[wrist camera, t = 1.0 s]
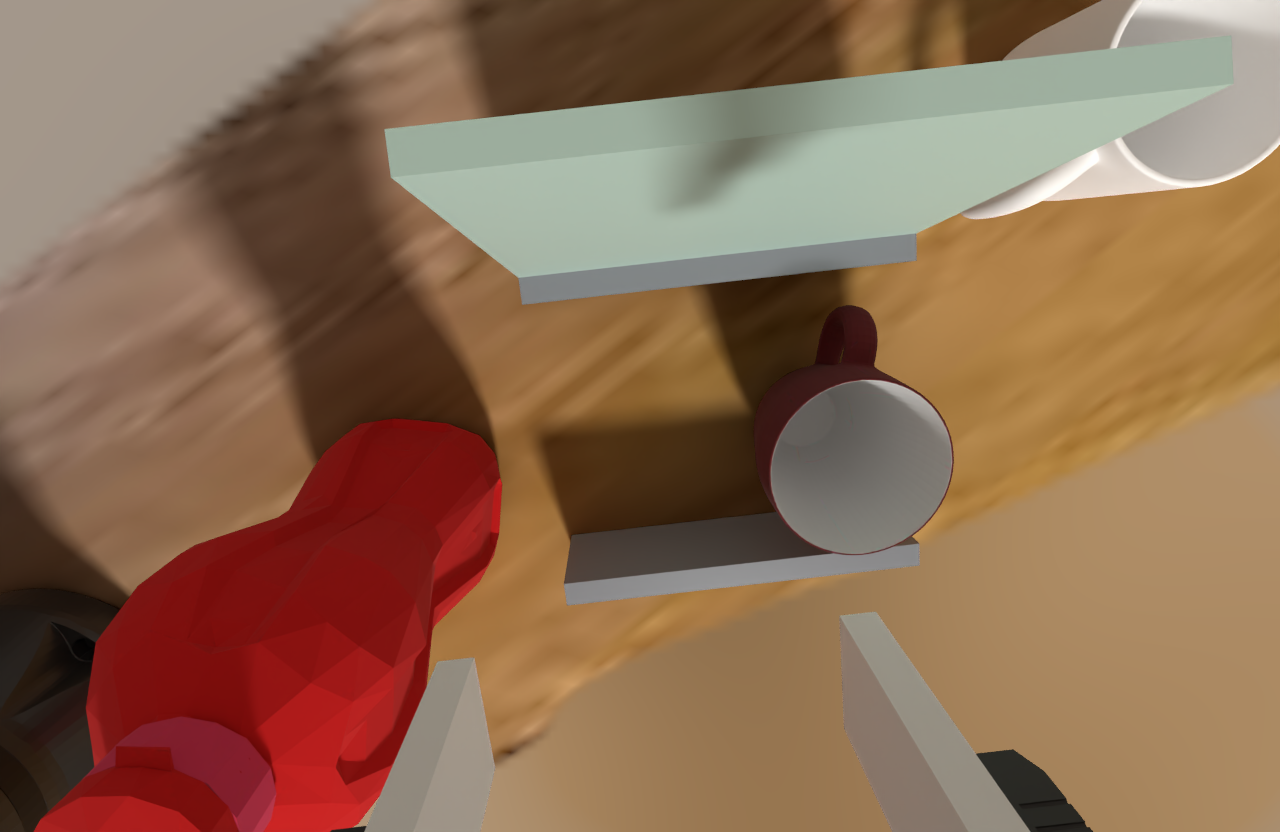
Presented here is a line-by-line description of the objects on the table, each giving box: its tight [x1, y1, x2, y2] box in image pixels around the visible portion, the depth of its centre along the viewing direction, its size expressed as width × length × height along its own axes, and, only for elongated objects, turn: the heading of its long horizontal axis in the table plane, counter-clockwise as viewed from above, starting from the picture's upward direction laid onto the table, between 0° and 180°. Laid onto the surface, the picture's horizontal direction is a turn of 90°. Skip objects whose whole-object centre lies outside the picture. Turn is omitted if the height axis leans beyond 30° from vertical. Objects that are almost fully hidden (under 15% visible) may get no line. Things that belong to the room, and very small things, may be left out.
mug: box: [754, 305, 954, 555], centre depth 34 cm, size 11×8×10 cm
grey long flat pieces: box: [519, 233, 919, 605], centre depth 36 cm, size 18×16×6 cm
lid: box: [385, 35, 1234, 278], centre depth 23 cm, size 18×16×1 cm
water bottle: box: [34, 419, 502, 832], centre depth 28 cm, size 9×11×25 cm
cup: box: [960, 0, 1280, 219], centre depth 31 cm, size 8×12×10 cm
